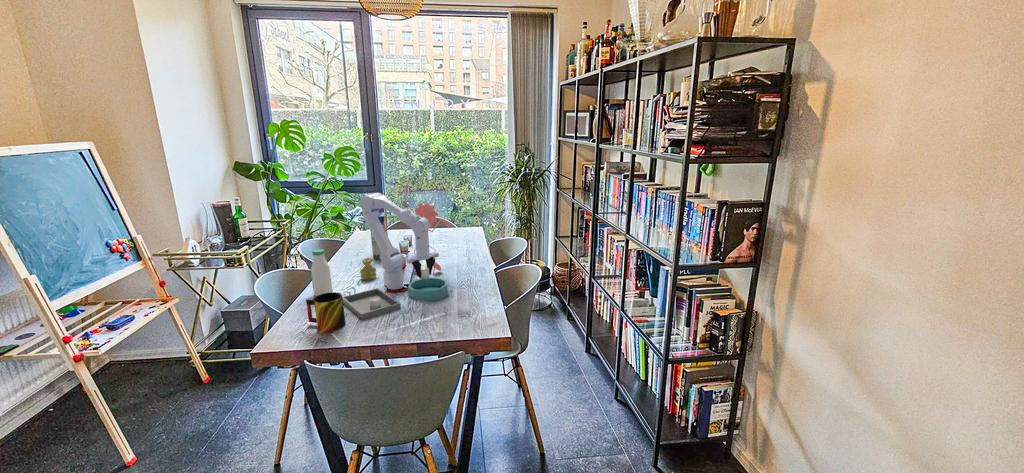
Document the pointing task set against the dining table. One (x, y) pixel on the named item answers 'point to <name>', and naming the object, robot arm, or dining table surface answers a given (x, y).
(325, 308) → the mug
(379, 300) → the stone
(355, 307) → the tray
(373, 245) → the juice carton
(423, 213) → the figurine
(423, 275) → the stone
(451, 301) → the dining table surface
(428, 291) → the bowl
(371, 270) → the olive yellow vase
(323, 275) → the milk bottle
